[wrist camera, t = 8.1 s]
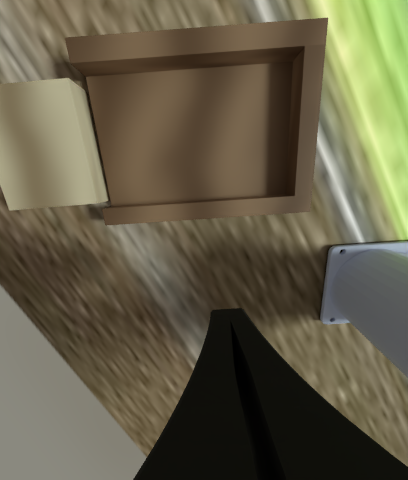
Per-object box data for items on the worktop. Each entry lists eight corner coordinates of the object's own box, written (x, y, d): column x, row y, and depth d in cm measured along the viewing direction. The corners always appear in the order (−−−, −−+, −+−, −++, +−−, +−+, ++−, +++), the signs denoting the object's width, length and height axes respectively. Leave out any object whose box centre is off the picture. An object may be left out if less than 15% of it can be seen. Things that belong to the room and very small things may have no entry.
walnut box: (308, 43, 13) (328, 17, 11) (296, 207, 16) (310, 211, 14) (86, 59, 13) (64, 37, 11) (117, 219, 17) (105, 225, 14)
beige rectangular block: (89, 94, 14) (68, 78, 12) (112, 200, 17) (97, 203, 14) (2, 101, 14) (-36, 87, 12) (36, 206, 17) (9, 210, 14)
